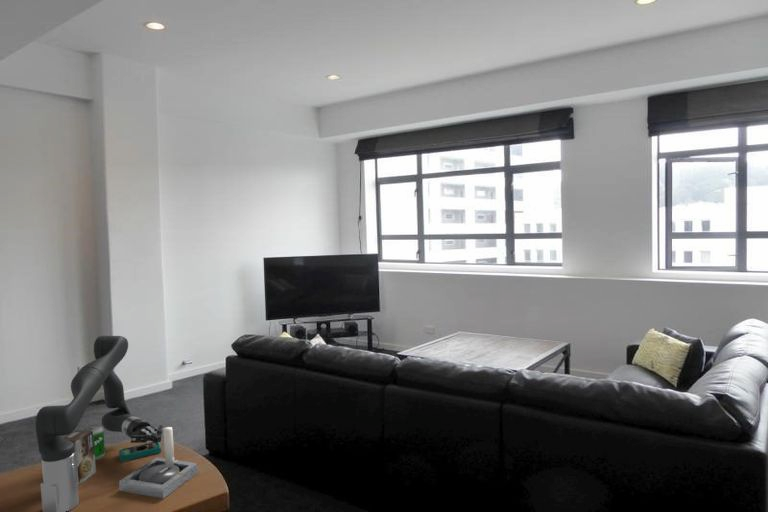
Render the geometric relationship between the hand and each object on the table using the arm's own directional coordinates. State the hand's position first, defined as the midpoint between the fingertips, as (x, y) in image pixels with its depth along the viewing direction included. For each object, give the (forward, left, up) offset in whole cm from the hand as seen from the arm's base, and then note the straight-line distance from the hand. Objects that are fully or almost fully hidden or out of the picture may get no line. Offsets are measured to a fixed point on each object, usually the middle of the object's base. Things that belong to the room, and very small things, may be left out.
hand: (158, 439), depth 197 cm
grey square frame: (-8, -6, -11) cm, 15 cm away
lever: (-8, -6, -11) cm, 15 cm away
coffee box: (-14, +23, -11) cm, 29 cm away
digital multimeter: (+8, +16, -12) cm, 22 cm away
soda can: (0, +31, -11) cm, 33 cm away
